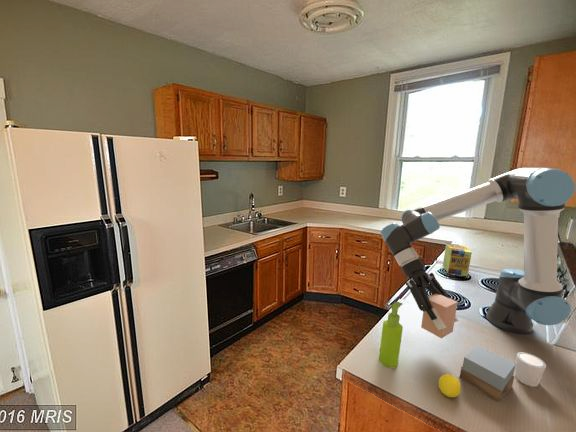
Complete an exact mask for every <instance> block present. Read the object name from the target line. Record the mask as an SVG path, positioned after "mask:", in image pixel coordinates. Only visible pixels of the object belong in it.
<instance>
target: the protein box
mask: <svg viewBox="0 0 576 432" xmlns="http://www.w3.org/2000/svg"><path fill="white" fill-rule="evenodd" d="M445 244H446V245H445V249H444V255H443V262H442V267H443V269H444V268H445V269H444V270H446V271H447V272H446V271H445V272H446V274H447V273H448V274H447V275H449V274H455V275H461V276H460V277H462V276H466V277H465V278H468V275H469V270H470V269H469V268H470V265H471V260H472V259H471V258H472V251H471V250H470V249H469V248H468V247H467V246H466V245H463V244H457V243H449V242H446V243H445ZM455 275H454V276H455Z"/></svg>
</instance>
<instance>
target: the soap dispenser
mask: <svg viewBox="0 0 576 432" xmlns="http://www.w3.org/2000/svg"><path fill="white" fill-rule="evenodd" d="M401 306H403V303H402V302H400V301H395V302H393V303H392V304H391V305H390V309H391V312H389V313H388V316H387V319H386V320H384V321H383V323H382V327H381V329H382V331H381V336H380V337H381V339H380V346H379V353H378V354H379V355H378V361H379V363H380V364H381V365H383V366H384V367H387V368H391V369H392V368H396V367H397V366H398V365H399V357H400V351H401V349H400V348H401V342H402V335H403V329H404V327H403V325H402V324H401V323H400V320H401V319H400V318H401V317H400V314H398V310H399V308H400V307H401Z"/></svg>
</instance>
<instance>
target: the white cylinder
mask: <svg viewBox="0 0 576 432" xmlns="http://www.w3.org/2000/svg"><path fill="white" fill-rule="evenodd" d="M515 356H516V357H515V363H516V366H515V370H514V378H516V379H517V380H518V381H519V382H520V383H522V384H524V385H526V386H530V387H533V388H535V387H538V386H539V384H540V382H541V379H542V377H543V376H544V372H545V371H546V368H547V364H546V362H545V361H544V360H543V359H541V358H540V357H538V356H536V355H533V354H531V353H528V352H522V351H519V352H517V353H516V355H515Z"/></svg>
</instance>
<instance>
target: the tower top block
mask: <svg viewBox="0 0 576 432" xmlns="http://www.w3.org/2000/svg"><path fill="white" fill-rule="evenodd" d="M462 362H463V363H462V366H461V367H462V369H464V370H465V371H467V372H469V373H471V374H472V375H474V376H476V377H478V378H479V379H481V380H483V381H485V382H486V383H488V384H490V385H492V386H494V387H495V388H497V389H499V390H501V391H502V390H503V389H504V387H505V386H506V385H507V383H508V382H509V380H510V379H511V378H512V376H514V375H515V366H516V362H514V361H511V360H510V359H508V358H506V357H503V356H501V355H500V354H497V353H495V352H493V351H491V350H489V349H488V348H485V347H483V346H481V345H479V344H476V345H475V346H474V347H473V348H472V349H471V350H470V351H469V352H468V353H467V354H466V355H465V356H464V357H463V361H462Z"/></svg>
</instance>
